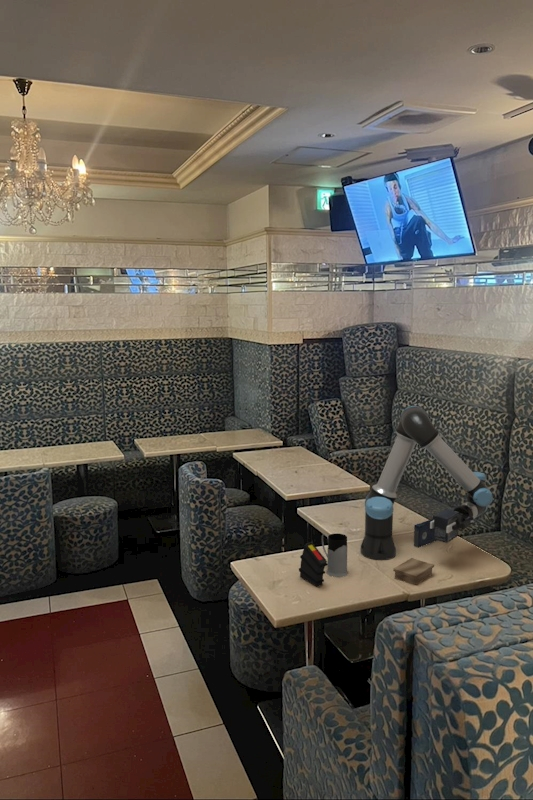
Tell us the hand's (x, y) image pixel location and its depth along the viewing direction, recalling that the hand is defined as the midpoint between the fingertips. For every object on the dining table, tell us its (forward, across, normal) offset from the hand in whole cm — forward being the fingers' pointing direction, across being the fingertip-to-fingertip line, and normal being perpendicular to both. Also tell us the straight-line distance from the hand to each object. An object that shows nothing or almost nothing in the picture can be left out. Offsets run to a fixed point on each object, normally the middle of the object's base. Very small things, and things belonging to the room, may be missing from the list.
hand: (439, 527), depth 248 cm
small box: (-6, 0, -6) cm, 9 cm away
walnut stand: (+12, +4, -18) cm, 22 cm away
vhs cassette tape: (-24, +17, -18) cm, 35 cm away
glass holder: (+29, +31, -18) cm, 46 cm away
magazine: (+43, +30, -18) cm, 55 cm away
